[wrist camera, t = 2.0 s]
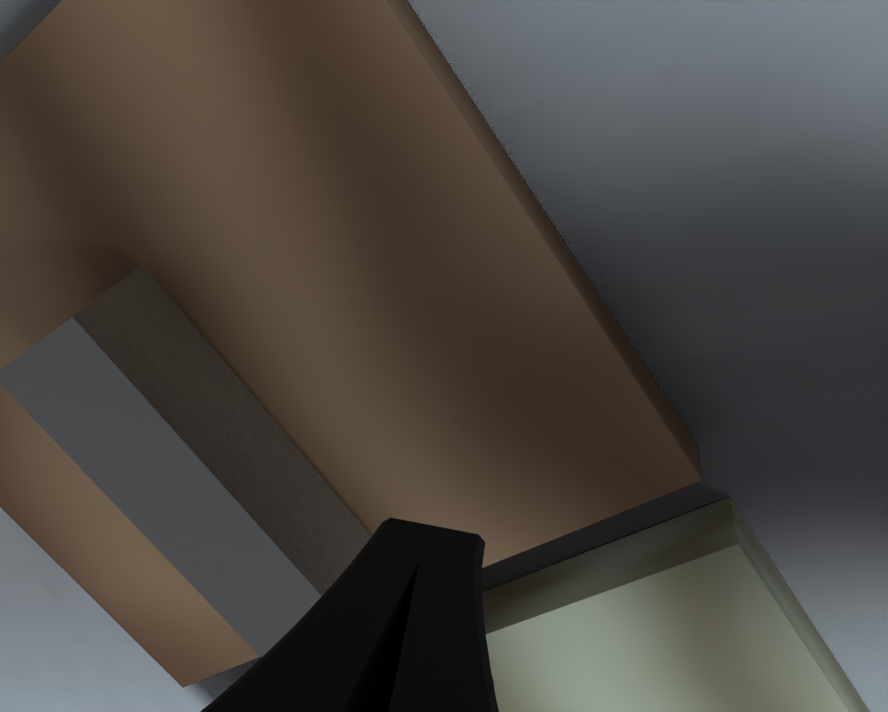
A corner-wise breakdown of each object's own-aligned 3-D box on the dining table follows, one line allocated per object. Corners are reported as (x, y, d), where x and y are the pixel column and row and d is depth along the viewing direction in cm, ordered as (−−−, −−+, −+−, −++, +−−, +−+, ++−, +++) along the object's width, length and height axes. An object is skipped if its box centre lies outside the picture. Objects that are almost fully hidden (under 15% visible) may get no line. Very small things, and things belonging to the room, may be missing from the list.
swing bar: (541, 718, 20) (527, 850, 18) (437, 749, 22) (408, 876, 19) (155, 254, 16) (55, 329, 13) (56, 328, 18) (-55, 410, 15)
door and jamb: (285, -188, 14) (176, -216, 11) (940, 821, 22) (995, 984, 19) (-182, 266, 21) (-338, 336, 17) (456, 914, 29) (433, 1047, 26)
